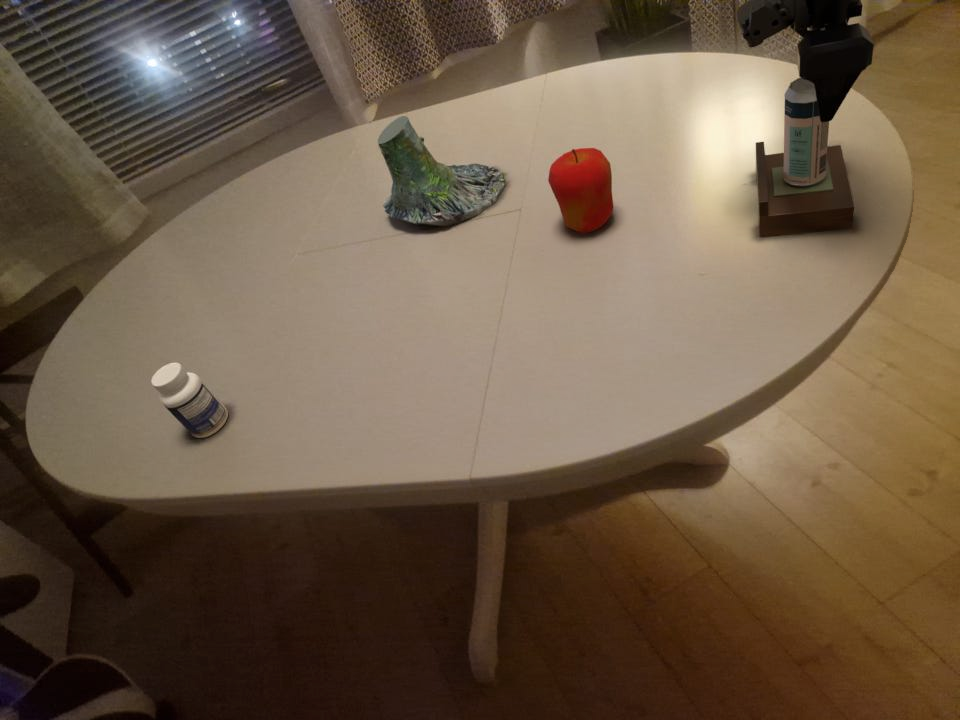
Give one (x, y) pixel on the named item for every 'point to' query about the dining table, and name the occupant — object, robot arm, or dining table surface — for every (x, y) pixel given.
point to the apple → (583, 188)
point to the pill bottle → (189, 400)
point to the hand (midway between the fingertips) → (821, 101)
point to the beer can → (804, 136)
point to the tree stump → (433, 181)
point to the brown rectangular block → (802, 197)
